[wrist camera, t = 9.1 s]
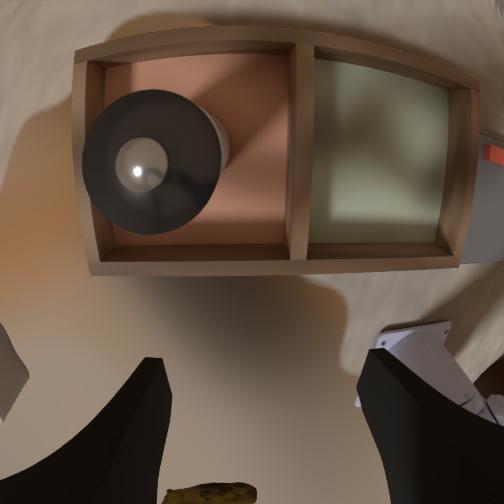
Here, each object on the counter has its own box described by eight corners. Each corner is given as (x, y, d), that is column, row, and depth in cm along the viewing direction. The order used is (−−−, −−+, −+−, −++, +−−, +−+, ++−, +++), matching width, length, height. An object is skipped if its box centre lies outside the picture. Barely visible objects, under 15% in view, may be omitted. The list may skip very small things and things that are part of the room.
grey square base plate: (505, 256, 19) (516, 263, 18) (437, 259, 19) (448, 268, 17) (523, 153, 15) (535, 156, 14) (455, 127, 15) (470, 128, 13)
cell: (231, 183, 15) (221, 237, 7) (156, 187, 15) (85, 242, 7) (230, 107, 13) (218, 79, 6) (153, 113, 13) (71, 102, 6)
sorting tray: (430, 247, 18) (458, 267, 15) (113, 250, 17) (90, 275, 14) (445, 84, 14) (478, 80, 10) (102, 63, 13) (75, 50, 9)
